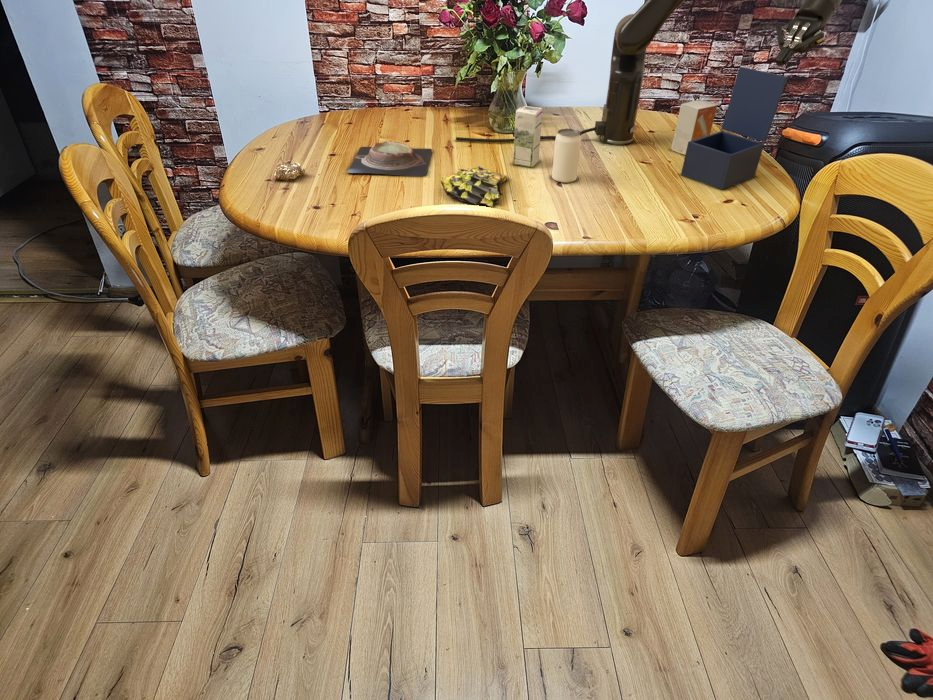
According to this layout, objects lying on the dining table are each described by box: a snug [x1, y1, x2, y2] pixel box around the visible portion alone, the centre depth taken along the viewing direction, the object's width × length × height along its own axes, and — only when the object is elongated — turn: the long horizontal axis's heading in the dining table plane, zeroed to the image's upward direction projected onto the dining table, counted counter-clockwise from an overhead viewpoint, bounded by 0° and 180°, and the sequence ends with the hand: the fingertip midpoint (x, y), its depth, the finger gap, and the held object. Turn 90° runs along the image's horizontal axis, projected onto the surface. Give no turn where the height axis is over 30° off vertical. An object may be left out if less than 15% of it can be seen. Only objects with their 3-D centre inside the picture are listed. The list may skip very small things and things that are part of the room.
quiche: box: [346, 140, 433, 177], centre depth 169 cm, size 21×20×4 cm
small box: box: [670, 99, 718, 156], centre depth 175 cm, size 8×6×13 cm
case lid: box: [721, 66, 789, 143], centre depth 158 cm, size 15×13×1 cm
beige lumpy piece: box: [273, 162, 306, 181], centre depth 159 cm, size 8×7×4 cm
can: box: [551, 128, 582, 184], centre depth 158 cm, size 6×6×12 cm
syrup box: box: [512, 105, 543, 168], centre depth 166 cm, size 6×6×14 cm
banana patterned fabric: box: [440, 165, 509, 208], centre depth 155 cm, size 20×16×7 cm
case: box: [680, 130, 765, 191], centre depth 161 cm, size 15×13×9 cm
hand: (779, 63), depth 156 cm, fingers closed
